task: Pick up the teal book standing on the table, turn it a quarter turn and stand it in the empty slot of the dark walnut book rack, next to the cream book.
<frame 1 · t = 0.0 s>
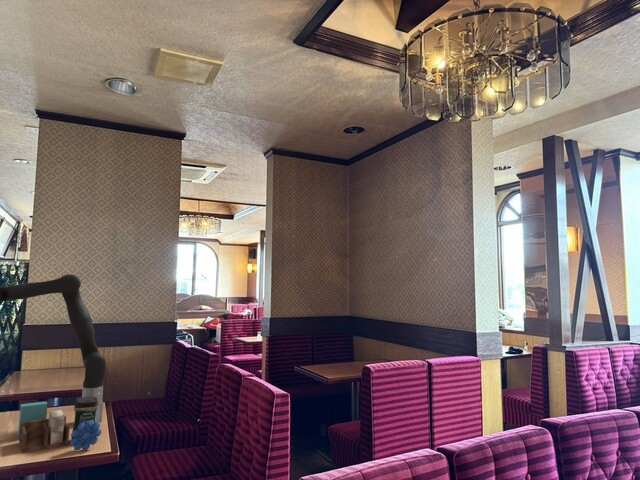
grapes: (84, 449, 187), on the table
coffee jar: (83, 440, 197), on the table
book rack: (44, 443, 192), on the table
teal book: (31, 435, 201), on the table
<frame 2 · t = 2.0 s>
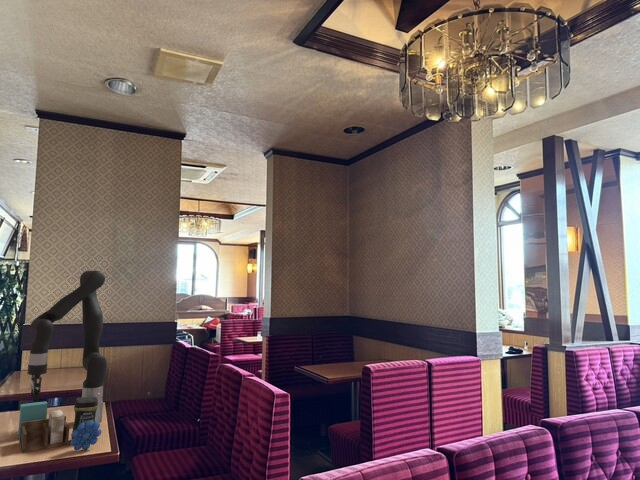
hand: (34, 399, 202), 16 cm above the table, tool pointing down, fingers open, 8 cm apart
nothing on the table moved.
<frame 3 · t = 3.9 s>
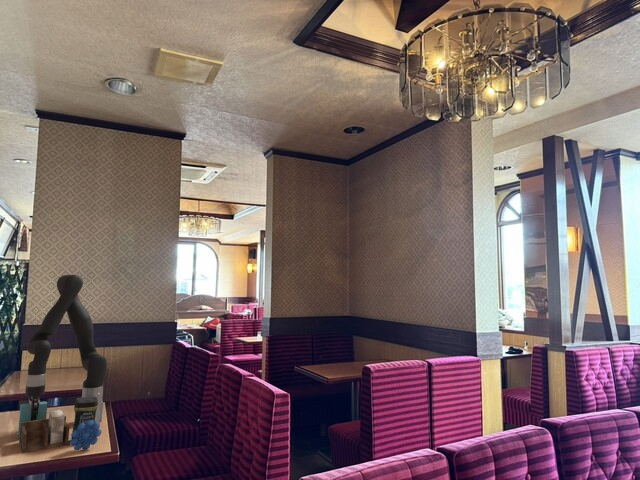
hand: (32, 422, 201), 6 cm above the table, tool pointing down, fingers closed on teal book, 4 cm apart
teal book: (31, 435, 201), on the table, touching gripper
everything else where it was.
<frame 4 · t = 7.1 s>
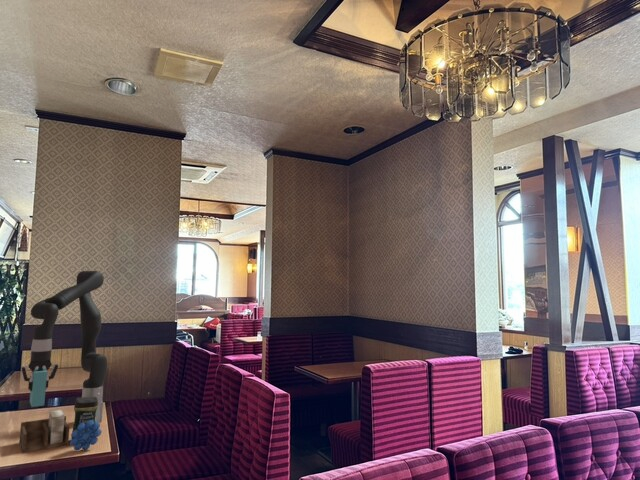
hand: (38, 389, 192), 23 cm above the table, tool pointing down, fingers closed on teal book, 4 cm apart
teal book: (36, 403, 191), point 17 cm above the table, touching gripper
everything else where it was.
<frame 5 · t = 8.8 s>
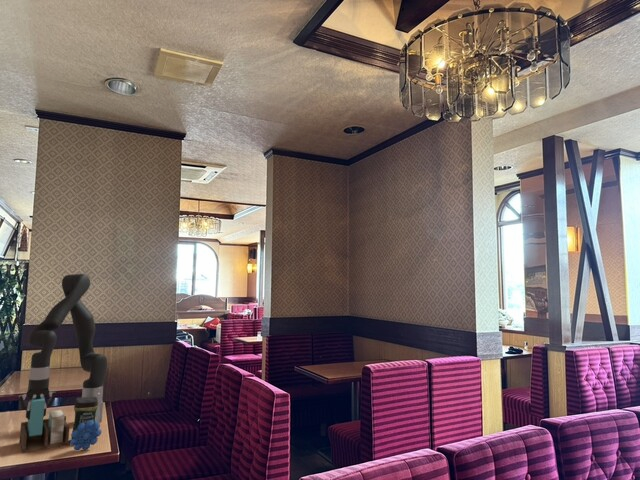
hand: (35, 418, 190), 11 cm above the table, tool pointing down, fingers closed on teal book, 4 cm apart
teal book: (34, 432, 190), point 6 cm above the table, touching gripper
everything else where it was.
when the fingers open (8 cm above the table, at t = 10.2 s): teal book drops 1 cm, resting on book rack.
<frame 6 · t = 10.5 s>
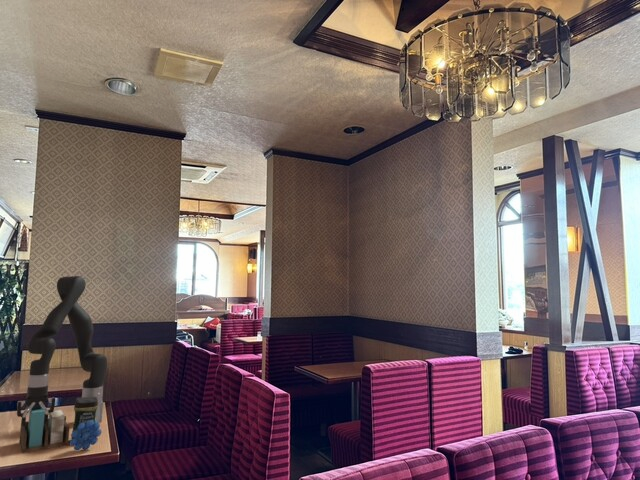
hand: (34, 424, 190), 9 cm above the table, tool pointing down, fingers open, 7 cm apart
teal book: (33, 442, 190), point 1 cm above the table, touching book rack
everything else where it was.
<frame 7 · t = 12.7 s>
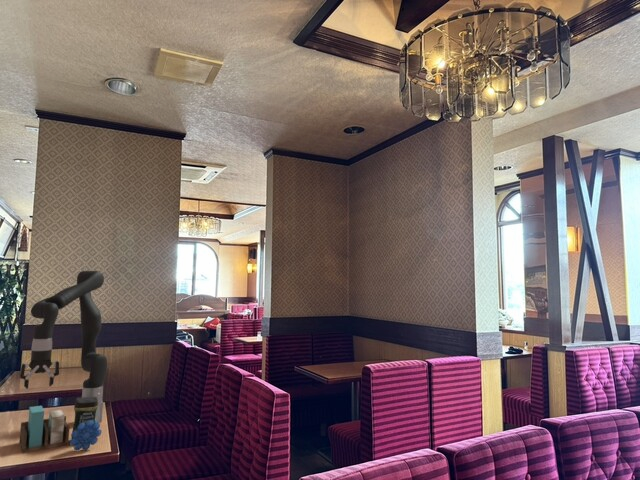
hand: (38, 387, 192), 24 cm above the table, tool pointing down, fingers open, 8 cm apart
nothing on the table moved.
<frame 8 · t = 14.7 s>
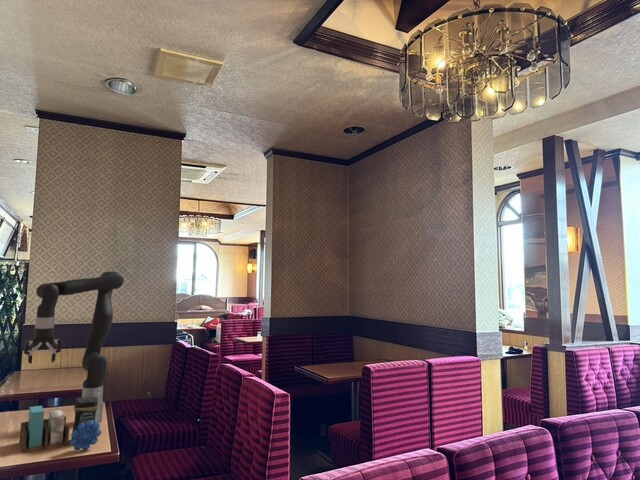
hand: (41, 362, 205), 32 cm above the table, tool pointing down, fingers open, 8 cm apart
nothing on the table moved.
at the end: teal book 0.1 cm from the target spot on the book rack, point 1.0 cm above the book rack's base; teal book tilted 0°; the gripper is holding nothing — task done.
